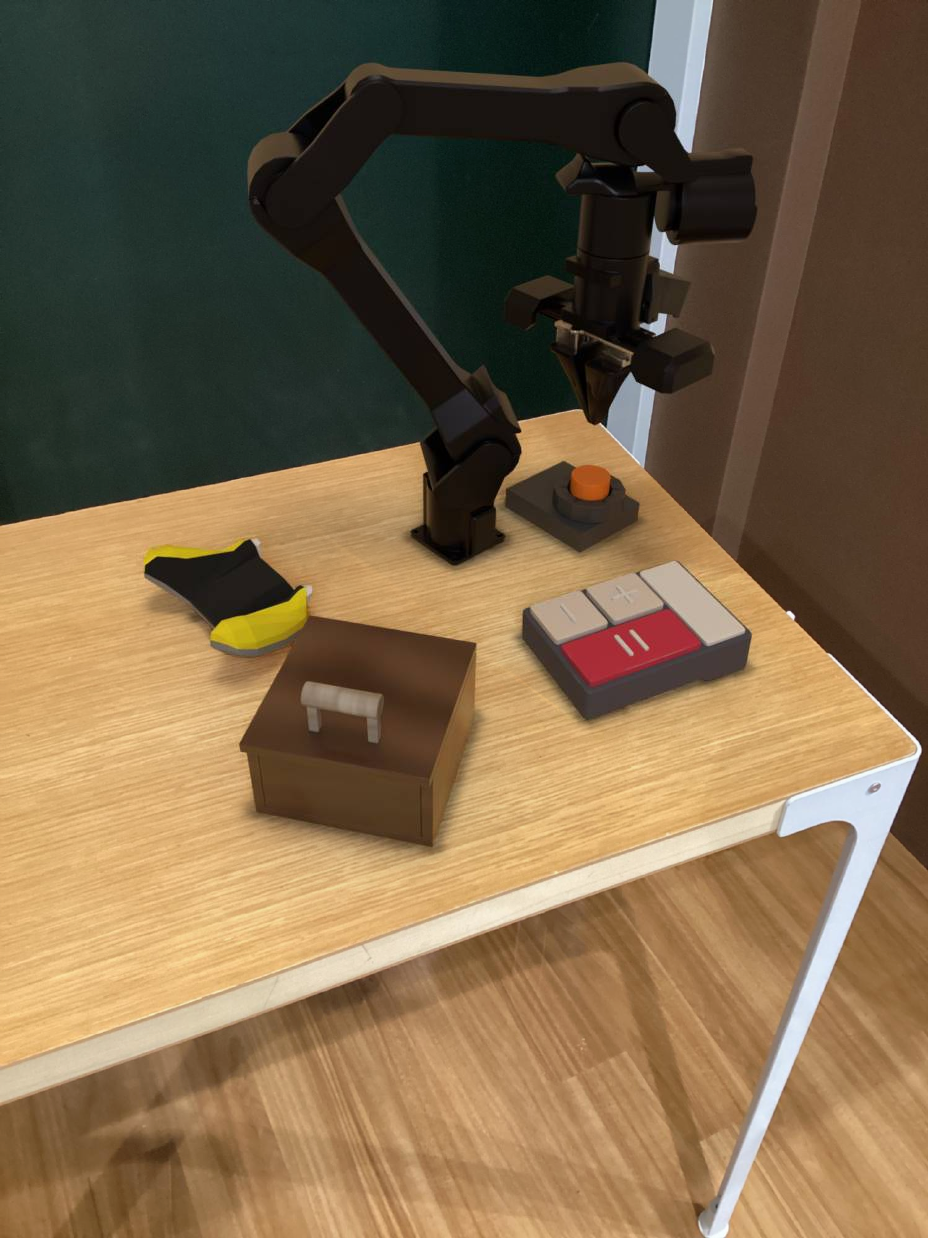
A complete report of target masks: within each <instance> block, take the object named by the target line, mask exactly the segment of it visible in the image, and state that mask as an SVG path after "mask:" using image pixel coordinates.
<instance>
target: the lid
mask: <svg viewBox="0 0 928 1238" xmlns="http://www.w3.org/2000/svg"><path fill="white" fill-rule="evenodd" d="M477 646H478V645H477V642H474V641H467V640H461V639H456V638H451V637H450V638H449V637H443V636H438V635H432V634H426V633H420V632H413V631H407V630H401V629H397V628H389V627H384V626H378V625H373V624H366V623H359V622H353V621H347V620H341V619H337V618H331V617H330V618H329V617H323V616H318V615H312V614H310V615H309V617H308V619H307V621H306V622H305V624H304V626H303V628H302V630H301V632H300V633H299V635H298V637H297V638H296V639H295V640H294V642H293V644H292V646H291V648H290V649H289V652H288V654H287V655H286V657H285V659H284V661H283V663H282V664H281V666H280V668H279V670H278V672H277V674H276V675H275V678H274V679H273V681H272V682H271V685H270V686H269V688H268V690H267V691H266V694H265V696H264V698H263V699H262V701H261V702H260V705H259V707H258V708H257V710H256V712H255V714H254V716H253V718H252V719H251V721H250V722H249V725H248V726H247V728H246V730H245V732H244V733H243V736H242V737H241V740H240V741H239V743H238V746H239V751H240V752H241V753H245V754H247V753H249V754H254V755H260V756H265V757H270V758H275V759H281V760H286V761H291V762H296V763H302V764H307V765H312V766H317V767H323V768H328V769H333V770H338V771H344V772H349V773H354V774H359V775H364V776H370V777H375V778H380V779H385V780H391V781H396V782H401V783H406V784H412V785H417V786H422V787H427V788H429V787H430V785H431V782H432V779H433V776H434V773H435V770H436V767H437V764H438V762H439V759H440V756H441V753H442V750H443V747H444V744H445V741H446V738H447V735H448V732H449V729H450V727H451V724H452V721H453V718H454V715H455V712H456V709H457V706H458V703H459V700H460V697H461V694H462V692H463V689H464V686H465V683H466V680H467V677H468V674H469V671H470V668H471V665H472V662H473V659H474V657H475V654H476V655H477V651H478V649H477Z"/></svg>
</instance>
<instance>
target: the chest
mask: <svg viewBox="0 0 928 1238" xmlns="http://www.w3.org/2000/svg"><path fill="white" fill-rule="evenodd" d="M476 672H477V653H476V654H475V657H474V659H473V662H472V665H471V668H470V671H469V674H468V677H467V680H466V683H465V686H464V689H463V692H462V694H461V697H460V700H459V703H458V706H457V709H456V712H455V715H454V718H453V721H452V724H451V727H450V729H449V732H448V735H447V738H446V741H445V744H444V747H443V750H442V753H441V756H440V759H439V762H438V764H437V767H436V770H435V773H434V776H433V779H432V782H431V785H430V787H429V788H427V787H422V786H417V785H412V784H406V783H401V782H396V781H391V780H385V779H380V778H375V777H370V776H364V775H359V774H354V773H349V772H344V771H338V770H333V769H328V768H323V767H317V766H312V765H307V764H302V763H296V762H291V761H286V760H281V759H275V758H270V757H265V756H260V755H254V754H249V753H246V757H247V763H248V770H249V777H250V781H251V788H252V795H253V801H254V807H255V812H256V813H259V814H265V815H269V816H275V817H280V818H285V819H289V820H295V821H300V822H305V823H308V824H309V823H310V824H315V825H319V826H325V827H330V828H334V829H339V830H345V831H350V832H355V833H360V834H363V835H364V834H365V835H368V836H369V835H371V836H375V837H379V838H384V839H389V840H395V841H399V842H405V843H409V844H415V845H419V846H425V847H431V848H433V847H434V844H435V842H436V838H437V835H438V832H439V829H440V826H441V823H442V820H443V817H444V813H445V811H446V808H447V804H448V801H449V798H450V795H451V792H452V790H453V789H452V788H453V786H454V783H455V780H456V777H457V773H458V770H459V767H460V765H461V761H462V758H463V755H464V752H465V749H466V746H467V742H468V739H469V736H470V733H471V731H472V727H473V723H474V720H475V708H476V707H475V703H476V701H475V700H476V679H477V677H476V675H477V673H476Z"/></svg>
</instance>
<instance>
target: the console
mask: <svg viewBox="0 0 928 1238" xmlns="http://www.w3.org/2000/svg"><path fill="white" fill-rule="evenodd" d="M575 468H577V466H574V465H572V464H571V463H569V462H567V461H565V460H562V461H560V462H558V463H556V464H554V465H552V466H550V467H548V468H546V469H544V470H541V471H539V472H537V473H535V474H533V475H531V476H529V477H526V478H525V479H523V480H521V481H519V482H516V483H514V484H512V485H511V486H508V487H507V488H505V504H504V507H505V508H506V509H508V510H509V511H511V512H513V513H515V514H516V515H517V516H519V517H521V518H522V519H524V520H525V521H527V522H528V523H530V524H532V525H534V526H535V527H537V528H538V529H540V530H542V531H544V532H545V533H547V534H548V535H550V536H552V537H554V538H555V539H556V540H558V541H560V542H561V543H563V544H564V545H567V546H568V547H570V548H571V549H573V550H574V551H576V552H578V553H582V552H584V551H586V550H588V549H590V548H591V547H593V546H595V545H596V544H597V545H598V543H600V542H603V541H604V540H607V538H610V537H611V536H613V535H615V534H617V533H619V532H621V531H622V530H624V529H626V528H627V527H630V526H631V525H633V524H635V523H637V522H638V518H639V510H640V506H641V505H640V504H641V503H640V502H639V501H638V500H636V499H634V498H632V497H630V496H629V495H627V494H626V492H627V490H626V488H625V486H624V484H623V483H622V481H621V480H620V479H619V478H618V477H615V476H613V475H612V474H610V476H611V479H610V487H609V494H608V496H607V497H606V498H604V499H602V500H594V501H589V500H584V499H579V498H577V497H575V496H574V495H572V493H571V491H570V485H571V474H572V471H573V470H574V469H575Z"/></svg>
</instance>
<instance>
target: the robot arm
mask: <svg viewBox="0 0 928 1238" xmlns="http://www.w3.org/2000/svg"><path fill="white" fill-rule="evenodd" d="M676 126H677V109H676V105H675V101H674V99H673V98H672V96H671V94H670V93H669V91H668V90H667V89H666V88H665V87H664V86H663V85H661V84H660V83H659V82H658V81H657V80H656V79H654V78H653V77H652V76H650V74H648V73H647V72H646V71H644V70H643V69H641V68H639V67H638V66H637V65H635V64H633V63H629V62H625V61H622V62H611V63H604V64H596V65H588V66H580V67H577V68H573V69H570V70H567V71H564V72H561V73H558V74H553V75H544V76H529V75H511V74H499V73H498V74H496V73H480V72H464V71H448V70H431V69H416V68H400V67H389V66H387V65H383V64H380V63H377V62H368V63H362V64H360V65H359V66H357V67H355V68H354V69H353V70H352V71H351V72H350V73H349V75H348V76H347V78H346V79H344V81H342V83H341V84H340V85H339V86H338V87H336V88H335V90H332V92H330V93H329V94H328V95H326V96H325V97H323V99H321V100H320V101H318V102H317V103H316V104H315V105H313V106H312V107H311V108H309V109H308V110H306V112H304V113H303V114H302V115H301V116H300V117H299V118H298V119H297V120H296V121H295V122H294V123H293V124H292V125H291V126H290V127H289V129H287V130H286V131H280V132H275V133H271V134H268V135H267V136H265V137H263V138H262V139H260V140H259V141H258V143H256V145H255V146H254V147H253V148H252V151H251V152H250V155H249V158H248V160H247V172H246V175H247V193H248V194H247V195H248V205H249V209H250V212H251V216H252V217H253V219H254V220H255V222H256V223H257V225H258V226H259V227H260V228H261V229H262V231H264V232H265V233H266V234H267V235H268V236H270V237H271V238H272V239H273V241H275V242H276V243H278V245H280V246H281V247H282V248H283V249H284V250H285V251H286V252H288V253H289V254H290V255H291V256H292V257H294V258H295V259H296V260H297V261H299V262H301V263H302V264H304V265H305V266H307V267H309V268H310V269H312V270H314V271H315V272H317V274H320V275H321V276H322V277H323V278H325V280H326V282H328V284H329V285H330V286H331V287H332V288H333V290H334V291H335V292H336V294H337V295H338V296H339V298H340V299H341V300H342V301H343V302H344V304H345V305H346V306H347V307H348V308H349V310H350V311H351V313H352V314H353V315H354V316H355V317H356V320H358V321H359V322H360V324H361V325H362V327H364V329H365V330H366V331H367V333H368V334H369V335H370V337H371V338H372V339H373V340H374V341H375V343H376V344H377V346H378V347H379V348H380V349H381V350H382V351H383V352H384V354H385V355H386V357H387V358H388V359H389V361H390V362H391V363H392V364H393V365H394V367H395V368H396V369H397V371H398V372H399V373H400V374H401V376H402V377H403V378H404V379H405V381H407V383H408V384H409V386H410V387H411V388H412V389H413V391H414V392H415V393H416V394H417V396H418V397H419V398H420V399H421V401H422V402H423V403H424V405H425V406H426V407H427V409H428V412H429V413H430V415H431V417H432V420H433V422H434V424H435V427H433V428H432V429H430V431H429V432H428V433H427V434H426V435H425V436H424V437H423V438H422V439H421V440H420V441H419V445H420V449H421V453H422V457H423V461H424V463H425V467H426V472H425V471H424V472H423V473H422V524H421V525H419V526H416V527H414V528H412V529H411V530H410V531H409V532H410V537H411V538H412V539H413V540H415V541H416V542H418V543H419V544H421V545H423V546H424V547H425V548H426V549H428V550H429V551H431V552H432V553H434V554H435V555H437V556H438V557H439V558H441V559H443V560H444V561H445V562H447V563H448V564H450V565H452V566H458V565H461V564H463V563H465V562H467V561H468V560H470V559H472V558H474V557H476V556H478V555H481V554H482V553H484V552H486V551H487V550H490V549H492V548H494V547H496V546H497V545H499V544H502V543H503V542H505V541H506V534H505V533H504V532H502V531H500V530H498V529H497V528H496V526H497V525H496V521H497V507H496V506H495V501H496V497H497V496H498V494H499V491H500V490H501V487H502V485H503V483H504V481H505V478H507V477H508V476H509V475H510V474H511V473H512V472H514V471H515V469H516V467H517V466H518V464H519V462H520V459H521V455H522V453H523V450H522V445H521V442H520V440H519V438H518V434H521V433H522V428H521V426H520V423H519V421H518V419H517V417H516V414H515V411H514V409H513V407H512V405H511V402H510V400H509V398H508V395H507V394H506V393H505V392H504V391H502V390H500V389H499V388H497V386H495V384H494V383H493V381H492V379H491V377H490V374H489V373H488V370H487V368H486V366H485V365H484V364H482V365H480V366H479V367H478V369H476V371H474V372H473V373H472V374H471V373H469V372H468V371H467V370H464V369H463V368H462V367H460V366H459V365H458V364H457V363H455V361H454V359H452V357H451V356H450V355H449V353H448V351H447V350H446V349H445V347H444V346H443V345H442V344H441V342H440V341H439V340H438V338H437V337H436V336H435V334H434V333H433V331H432V330H431V328H429V326H428V325H427V324H426V322H425V321H424V319H423V318H422V317H421V316H420V314H419V312H417V310H416V308H414V306H413V305H412V303H411V302H410V301H409V299H408V298H407V297H406V296H405V294H404V293H403V291H402V290H401V289H400V287H399V286H398V285H397V283H396V282H395V280H394V279H393V278H392V277H391V275H390V274H389V273H388V271H387V270H386V268H385V267H384V266H383V264H382V263H381V261H379V259H378V257H376V255H375V254H374V252H373V251H372V250H371V248H370V247H369V246H368V245H367V243H366V242H365V240H364V239H363V238H362V236H361V234H360V233H359V231H358V229H357V227H356V225H355V223H354V221H353V219H352V216H351V214H350V212H349V210H348V208H347V206H346V203H345V201H344V199H343V197H342V194H341V193H342V192H343V191H344V190H345V189H346V188H347V187H348V186H349V185H350V183H351V182H352V181H353V180H354V179H355V178H356V176H357V175H358V173H359V172H360V170H362V168H363V167H364V165H365V164H366V163H367V162H368V161H369V159H370V158H371V156H372V155H373V154H374V152H375V151H376V150H377V148H378V147H380V145H381V144H383V143H384V142H385V141H386V139H388V138H389V137H390V136H409V137H411V136H412V137H431V138H450V139H452V138H453V139H471V140H491V141H508V142H509V141H512V142H528V143H529V142H531V143H544V144H549V145H552V146H556V147H560V148H563V149H566V150H568V151H571V152H573V153H576V155H575V156H574V158H573V159H572V160H571V161H570V162H569V163H568V164H566V165H565V166H564V167H562V168H561V169H560V170H559V171H557V172H556V174H555V180H556V181H557V183H558V184H559V185H560V187H561V188H562V189H563V190H564V192H565V194H566V195H568V196H580V208H579V219H578V221H579V222H578V233H577V234H578V235H577V245H576V254H575V255H573V256H570V257H566V258H564V259H565V260H564V272H565V273H568V274H570V275H573V276H574V277H573V278H574V279H573V284H570V283H568V282H567V281H564V280H561V279H558V278H556V277H554V276H551V275H549V274H547V275H544V276H541V277H539V278H536V279H533V280H529V281H527V282H524V283H522V284H519V285H516V286H514V287H511V289H510V290H509V292H508V293H507V295H506V296H505V298H504V305H503V322H505V323H507V324H510V325H512V326H513V327H516V328H518V329H520V330H523V331H526V330H529V329H531V328H532V327H533V326H534V325H536V324H537V318H538V314H539V315H541V316H543V317H545V318H547V319H549V320H552V321H554V327H555V328H557V329H556V337H555V338H556V339H555V340H554V341H553V342H551V343H549V351H550V352H551V353H554V354H555V355H556V357H557V359H558V361H559V363H560V364H561V366H562V368H563V371H564V372H565V374H566V376H567V378H568V380H569V382H570V384H571V386H572V389H573V391H574V393H575V397H576V398H577V400H578V403H579V406H580V408H581V410H582V412H583V415H584V416H585V419H586V422H587V423H589V424H591V425H593V426H594V427H595V426H597V425H599V424H601V423H603V421H604V420H605V417H606V415H607V414H608V412H609V410H610V408H611V406H612V404H613V402H614V401H615V398H616V397H617V395H618V393H619V391H620V389H621V387H622V385H623V384H624V383H625V381H626V380H627V378H628V376H629V375H630V374H631V375H632V377H633V379H634V381H635V382H636V383H638V384H640V385H642V386H644V387H646V388H648V389H651V390H652V391H655V392H657V393H659V394H664V395H665V394H666V395H672V394H674V393H676V392H679V391H681V390H682V389H684V388H686V387H689V386H690V385H693V384H695V383H696V382H699V381H701V380H703V379H705V378H707V377H710V376H711V375H712V374H713V369H714V365H715V363H714V362H715V357H716V353H715V352H716V351H715V348H714V347H713V345H712V343H711V342H710V341H709V340H707V339H704V338H702V337H699V336H697V335H694V334H692V333H690V332H688V331H685V330H683V329H680V328H678V327H673V328H671V329H669V330H666V331H664V332H662V333H660V334H657V333H655V332H654V331H651V330H649V329H647V328H644V327H642V326H641V325H643V324H646V325H651V324H653V323H655V322H658V321H659V315H660V314H662V315H668V316H669V315H670V316H672V318H674V319H679V318H680V317H681V314H682V311H683V309H684V306H685V303H686V301H687V298H688V295H689V293H690V289H691V287H692V284H693V281H692V280H690V279H688V278H685V277H682V276H680V275H677V274H675V273H672V272H669V271H667V270H664V269H661V263H660V262H659V260H660V259H659V258H657V257H655V256H652V255H650V253H651V244H652V238H653V228H654V223H655V227H656V229H657V231H658V232H659V233H665V236H666V238H667V240H668V242H669V244H671V245H672V246H690V245H691V246H692V245H712V244H713V245H714V244H730V243H744V242H745V241H747V240H748V239H749V237H750V235H751V234H752V231H753V229H754V227H755V224H756V220H757V215H758V205H757V204H756V201H757V200H756V185H755V180H754V176H753V173H752V167H753V163H754V156H753V155H751V153H749V152H748V151H747V150H746V149H744V147H736V148H726V149H723V150H720V151H719V150H718V151H702V152H701V151H699V152H698V151H697V152H689V151H687V150H686V149H685V147H684V145H683V144H682V142H681V140H680V138H679V136H678V134H677V133H676V131H675V129H676V128H677V127H676ZM589 158H590V159H594V160H598V161H602V162H591V161H590V159H589ZM644 166H646V167H647V168H649V169H650V170H651V171H634V170H633V168H638V167H644Z"/></svg>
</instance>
